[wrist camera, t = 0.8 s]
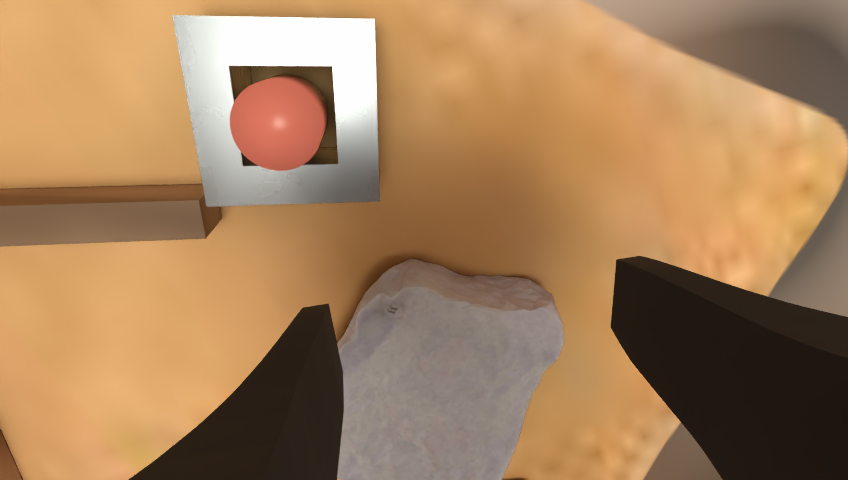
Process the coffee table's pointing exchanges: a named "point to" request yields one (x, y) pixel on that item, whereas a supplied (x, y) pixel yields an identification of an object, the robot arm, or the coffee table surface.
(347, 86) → the silver square button housing
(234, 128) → the button
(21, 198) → the pallet pocket
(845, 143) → the coffee table surface
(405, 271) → the stone block
